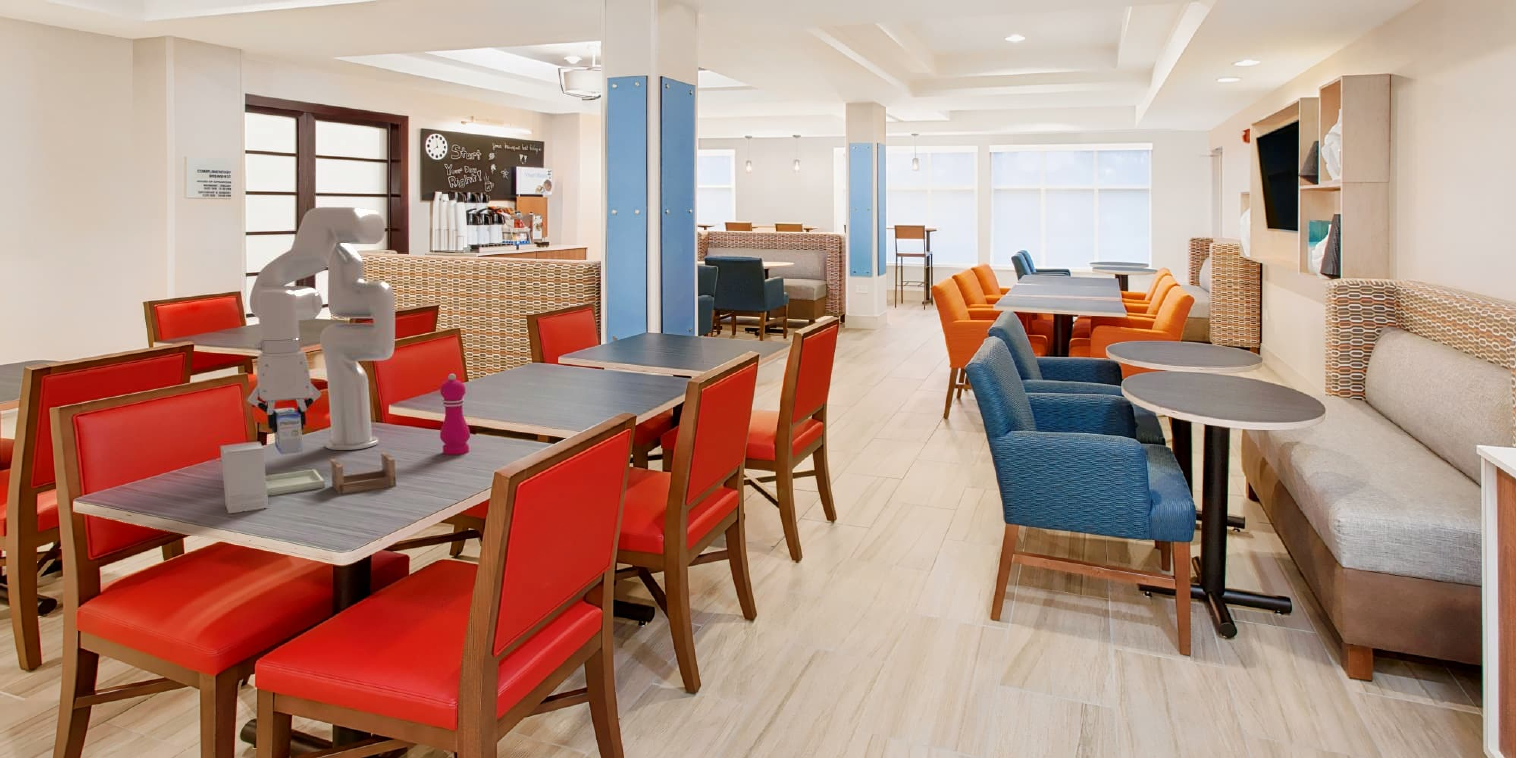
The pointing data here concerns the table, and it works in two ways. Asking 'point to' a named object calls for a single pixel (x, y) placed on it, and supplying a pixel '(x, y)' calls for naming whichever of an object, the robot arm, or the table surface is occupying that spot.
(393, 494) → the table surface
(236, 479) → the supplement box
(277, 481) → the tray
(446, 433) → the pepper mill
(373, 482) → the holder
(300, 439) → the medicine box
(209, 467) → the table surface
